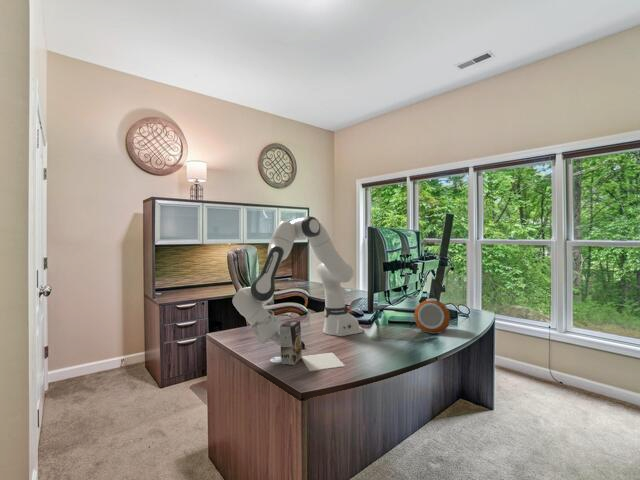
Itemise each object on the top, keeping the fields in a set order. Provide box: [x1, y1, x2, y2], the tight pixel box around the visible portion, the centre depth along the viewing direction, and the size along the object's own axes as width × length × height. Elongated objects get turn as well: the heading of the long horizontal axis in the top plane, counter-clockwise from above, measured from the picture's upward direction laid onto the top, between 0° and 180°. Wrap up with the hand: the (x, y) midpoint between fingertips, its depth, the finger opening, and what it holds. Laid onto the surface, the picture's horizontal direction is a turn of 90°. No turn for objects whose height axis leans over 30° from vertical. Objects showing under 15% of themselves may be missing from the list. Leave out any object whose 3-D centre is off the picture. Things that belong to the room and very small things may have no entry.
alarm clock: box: [413, 297, 451, 334], centre depth 184 cm, size 19×18×17 cm
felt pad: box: [300, 352, 346, 372], centre depth 140 cm, size 15×16×1 cm
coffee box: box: [279, 320, 303, 366], centre depth 141 cm, size 9×6×16 cm
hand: (281, 343), depth 143 cm, fingers closed
